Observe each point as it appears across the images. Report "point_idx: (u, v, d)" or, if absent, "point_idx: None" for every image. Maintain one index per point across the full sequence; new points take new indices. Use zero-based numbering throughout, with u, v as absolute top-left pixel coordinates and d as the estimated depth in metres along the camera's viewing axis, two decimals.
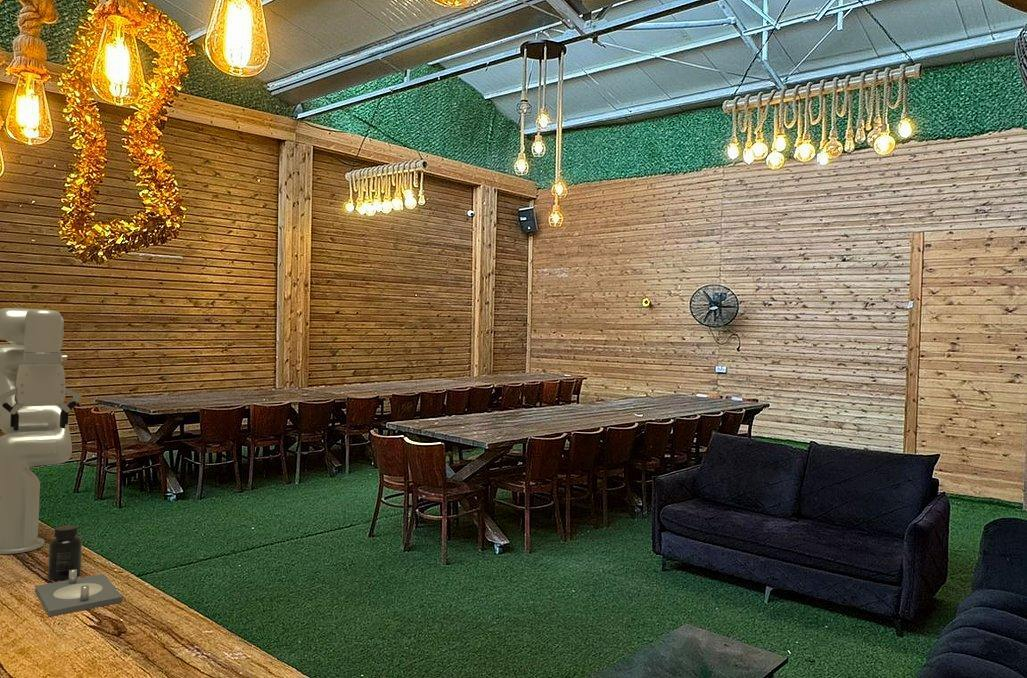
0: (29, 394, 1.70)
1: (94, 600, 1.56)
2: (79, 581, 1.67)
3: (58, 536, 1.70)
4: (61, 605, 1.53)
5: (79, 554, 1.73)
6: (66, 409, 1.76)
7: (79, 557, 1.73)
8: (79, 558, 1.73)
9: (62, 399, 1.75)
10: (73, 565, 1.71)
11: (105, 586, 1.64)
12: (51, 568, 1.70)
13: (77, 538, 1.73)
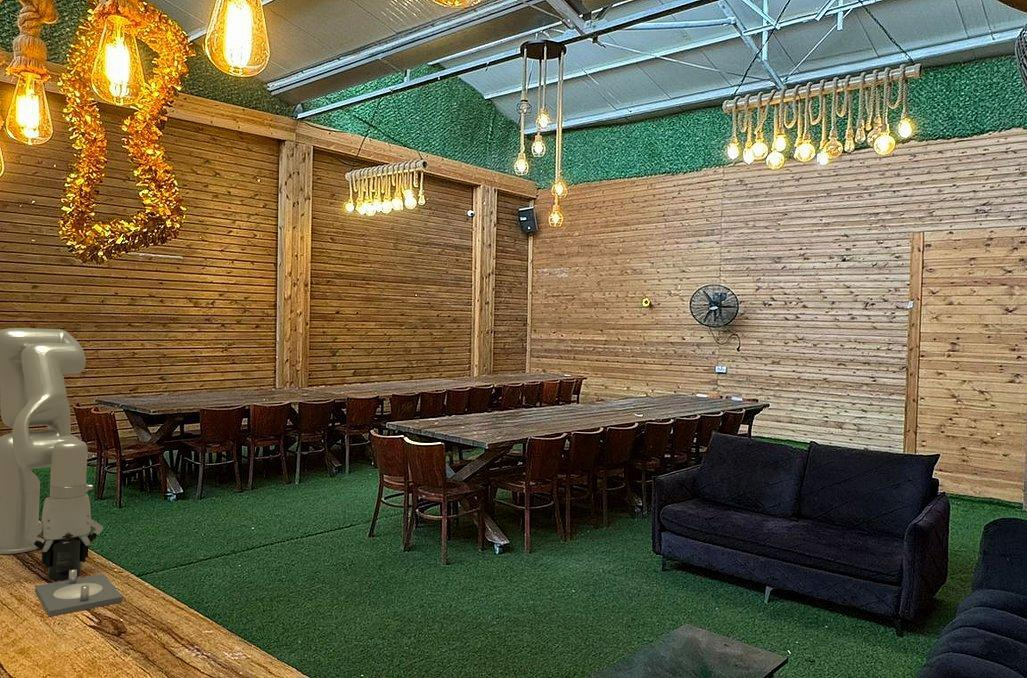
0: (55, 529, 1.69)
1: (94, 600, 1.56)
2: (79, 581, 1.67)
3: None
4: (61, 605, 1.53)
5: (79, 554, 1.73)
6: (86, 542, 1.75)
7: (79, 557, 1.73)
8: (79, 558, 1.73)
9: (88, 529, 1.74)
10: (73, 565, 1.71)
11: (105, 586, 1.64)
12: (51, 568, 1.70)
13: (77, 538, 1.73)
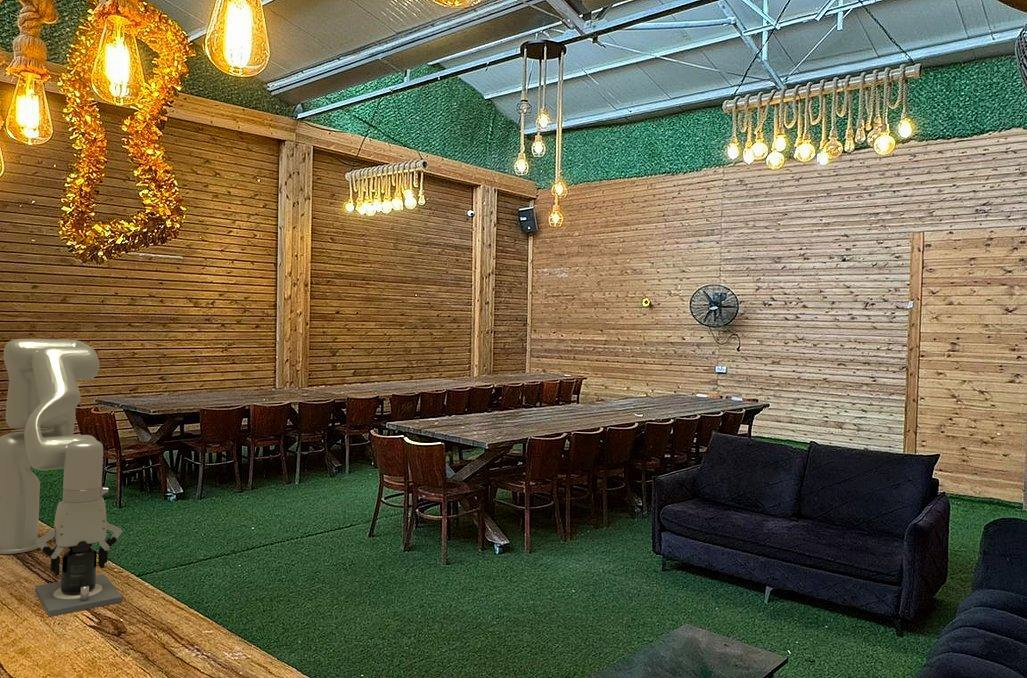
0: (69, 535, 1.57)
1: (94, 600, 1.56)
2: None
3: (72, 548, 1.59)
4: (61, 605, 1.53)
5: (94, 567, 1.61)
6: (105, 547, 1.63)
7: (94, 570, 1.61)
8: (94, 571, 1.61)
9: (104, 535, 1.62)
10: (87, 579, 1.59)
11: (105, 586, 1.64)
12: (64, 582, 1.58)
13: (92, 549, 1.61)
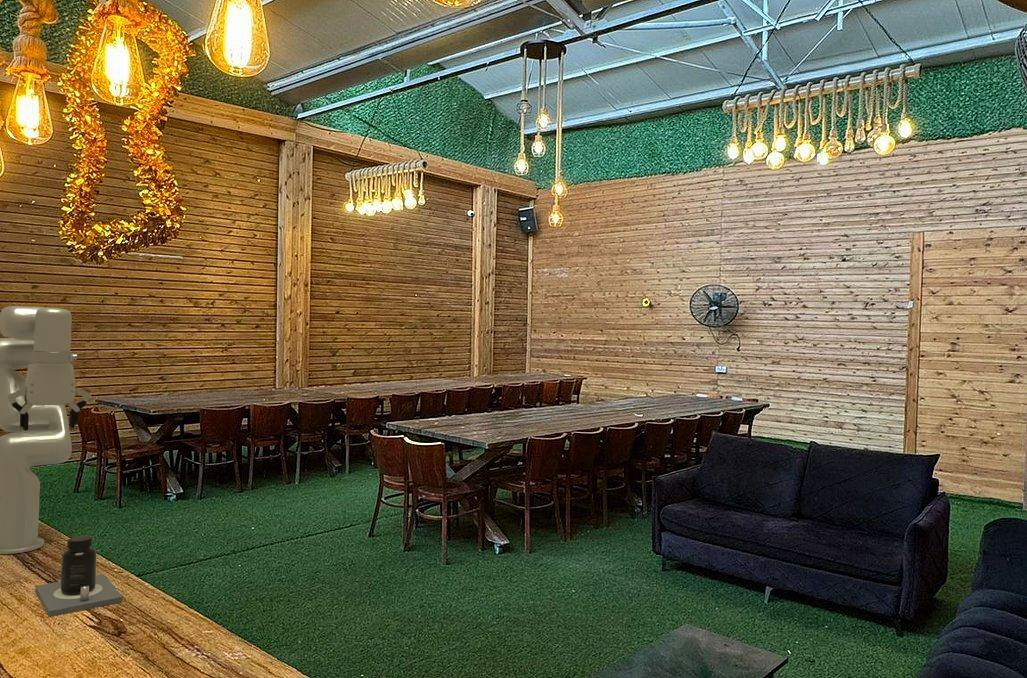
0: (39, 394, 1.68)
1: (94, 600, 1.56)
2: None
3: (71, 547, 1.59)
4: (61, 605, 1.53)
5: (94, 567, 1.61)
6: (76, 409, 1.75)
7: (94, 570, 1.61)
8: (94, 570, 1.61)
9: (72, 398, 1.73)
10: (87, 579, 1.60)
11: (105, 586, 1.64)
12: (64, 582, 1.58)
13: (91, 549, 1.62)
